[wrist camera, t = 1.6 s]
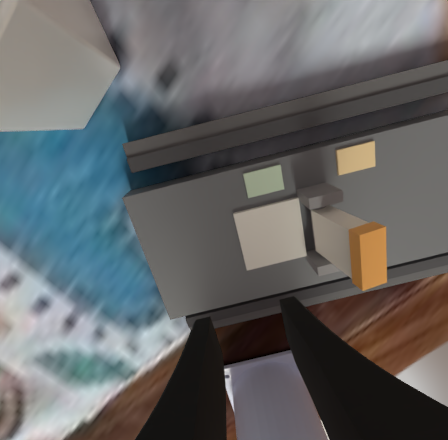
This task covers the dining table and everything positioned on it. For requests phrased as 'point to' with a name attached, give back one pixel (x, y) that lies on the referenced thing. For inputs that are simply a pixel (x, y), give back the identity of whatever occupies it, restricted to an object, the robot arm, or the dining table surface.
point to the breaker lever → (351, 245)
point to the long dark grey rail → (288, 117)
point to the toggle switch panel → (291, 214)
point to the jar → (52, 64)
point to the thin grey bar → (320, 292)
